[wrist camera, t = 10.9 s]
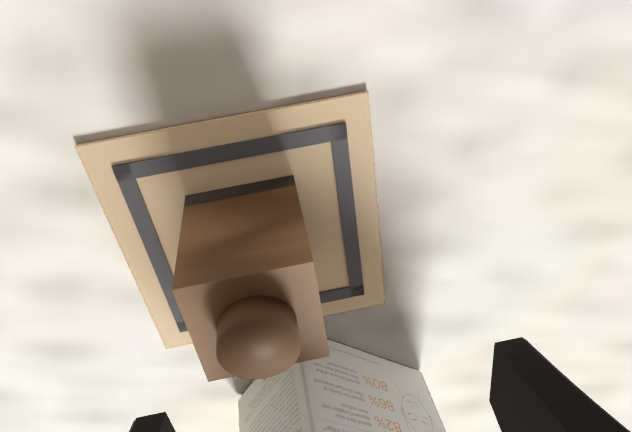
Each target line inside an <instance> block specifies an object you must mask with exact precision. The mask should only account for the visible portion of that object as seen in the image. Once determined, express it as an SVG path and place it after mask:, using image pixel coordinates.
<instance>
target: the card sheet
mask: <svg viewBox="0 0 632 432" xmlns="http://www.w3.org/2000/svg"><path fill="white" fill-rule="evenodd" d="M75 148H76V150H77V153H78V155H79V157H80V159H81V162H82V164H83V166H84V168H85V170H86V173H87V175H88V177H89V179H90V182H91V184H92V186H93V188H94V190H95V193H96V195H97V197H98V199H99V202H100V204H101V206H102V208H103V210H104V213H105V215H106V217H107V219H108V221H109V224H110V226H111V228H112V230H113V233H114V235H115V237H116V239H117V241H118V244H119V246H120V248H121V250H122V253H123V255H124V257H125V259H126V261H127V264H128V266H129V268H130V270H131V273H132V275H133V277H134V279H135V281H136V284H137V286H138V288H139V290H140V293H141V295H142V297H143V299H144V301H145V304H146V306H147V308H148V310H149V313H150V315H151V317H152V319H153V321H154V324H155V326H156V328H157V330H158V332H159V335H160V337H161V339H162V341H163V344H164V346H165V348H166V349H168V348H173V347H178V346H183V345H188V344H192V343H193V342H192V339H191V337H190V334H189V332H188V329H187V327H186V324H185V322H184V319H183V317H182V314H181V312H180V309H179V307H178V304H177V302H176V299H175V297H174V294H173V292H172V285H173V278H174V271H175V264H176V258H177V251H178V244H179V237H180V230H181V223H182V216H183V209H184V202H185V195H190V194H195V193H201V192H206V191H211V190H216V189H222V188H227V187H232V186H237V185H242V184H248V183H253V182H258V181H263V180H269V179H274V178H279V177H284V176H290V175H294V180H295V184H296V188H297V193H298V197H299V201H300V206H301V210H302V214H303V219H304V223H305V227H306V232H307V236H308V240H309V245H310V249H311V253H312V258H313V262H314V268H315V273H316V279H317V284H318V290H319V296H320V301H321V307H322V313H323V316H328V315H333V314H338V313H343V312H347V311H352V310H357V309H362V308H367V307H372V306H377V305H381V304H385V299H384V286H383V273H382V260H381V248H380V235H379V222H378V209H377V196H376V184H375V171H374V158H373V145H372V132H371V120H370V107H369V94H368V91H363V92H358V93H352V94H347V95H341V96H336V97H330V98H325V99H320V100H314V101H309V102H303V103H298V104H293V105H287V106H282V107H276V108H271V109H265V110H260V111H255V112H249V113H244V114H238V115H233V116H228V117H222V118H217V119H211V120H206V121H201V122H195V123H190V124H184V125H179V126H173V127H168V128H163V129H157V130H152V131H146V132H141V133H136V134H130V135H125V136H119V137H114V138H109V139H103V140H98V141H92V142H87V143H81V144H76V146H75Z"/></svg>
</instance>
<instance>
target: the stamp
mask: <svg viewBox="0 0 632 432" xmlns="http://www.w3.org/2000/svg"><path fill="white" fill-rule="evenodd" d="M172 292H173V294H174V297H175V299H176V302H177V304H178V307H179V309H180V312H181V314H182V317H183V319H184V322H185V324H186V327H187V329H188V332H189V334H190V337H191V339H192V342H193V344H194V347H195V349H196V352H197V354H198V357H199V359H200V362H201V364H202V367H203V369H204V372H205V374H206V377H207V379H208V382H209V381H214V380H219V379H224V378H228V377H233V376H237V377H240V378H244V379H264V378H269V377H273V376H276V375H278V374H280V373H282V372H284V371H286V370H287V369H289V368H290V367H291V366H292V365H293V364H295V363H300V362H305V361H309V360H314V359H319V358H324V357H328V356H330V352H329V347H328V341H327V335H326V330H325V324H324V318H323V313H322V307H321V301H320V296H319V290H318V284H317V279H316V273H315V268H314V262H313V258H312V253H311V249H310V245H309V240H308V236H307V232H306V227H305V223H304V219H303V214H302V210H301V206H300V201H299V197H298V193H297V188H296V184H295V180H294V175H290V176H284V177H279V178H274V179H269V180H263V181H258V182H253V183H248V184H242V185H237V186H232V187H227V188H222V189H216V190H211V191H206V192H201V193H195V194H190V195H185V202H184V209H183V216H182V223H181V230H180V237H179V244H178V251H177V258H176V264H175V271H174V278H173V285H172Z"/></svg>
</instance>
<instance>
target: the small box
mask: <svg viewBox="0 0 632 432" xmlns="http://www.w3.org/2000/svg"><path fill="white" fill-rule="evenodd" d="M327 341H328V347H329V352H330V356H328V357H324V358H319V359H314V360H309V361H305V362H300V363H295V364H293V365H292V366H291V367H290V368H289V369H287V370H286V371H284V372H282V373H280V374H278V375H276V376H273V377H269V378H264V379H255V380H254V381H253V382H252V383H251V385H250V386H249V387H248V389H247V390H246V391H245V392H244V394H243V395H242V396H241V397H240V399H239V402H238V406H239V429H240V432H446V431H445V428H444V426H443V423H442V421H441V419H440V416H439V414H438V411H437V409H436V407H435V404H434V402H433V400H432V397H431V395H430V392H429V390H428V388H427V385H426V383H425V380H424V378H423V375H422V373H421V372H420V371H418V370H415V369H412V368H409V367H406V366H403V365H400V364H397V363H394V362H391V361H389V360H386V359H383V358H380V357H377V356H375V355H371V354H369V353H366V352H363V351H360V350H357V349H354V348H352V347H349V346H346V345H343V344H340V343H337V342H334V341H331V340H328V339H327Z"/></svg>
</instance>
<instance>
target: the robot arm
mask: <svg viewBox="0 0 632 432" xmlns="http://www.w3.org/2000/svg"><path fill="white" fill-rule="evenodd" d="M489 401H490V403H491V406H492V409H493V411H494V414H495V416H496V419H497V421H498V424H499V426H500V429H501V431H502V432H630V431H629V430H628V429H626V428H625V427H624V426H623V425H621V424H620V423H619V422H618V421H617V420H616V419H614V418H613V417H612V416H611V415H610V414H608V413H607V412H606V411H605V410H604V409H602V408H601V407H600V406H599V405H598V404H596V403H595V402H594V401H593V400H592V399H591V398H589V397H588V396H587V395H586V394H585V393H584V392H583V391H581V390H580V389H579V388H578V387H577V386H576V385H575V384H574V383H572V382H571V381H570V380H569V379H568V378H567V377H566V376H565V375H563V374H562V373H561V372H560V371H559V370H558V369H557V368H556V367H555V366H554V365H552V364H551V363H550V362H549V361H548V360H547V359H546V358H545V357H544V356H543V355H542V354H541V353H540V352H538V351H537V350H536V349H535V348H534V347H533V346H532V345H531V344H530V343H529V342H528V341H527V340H525V339H524V338H522V337H521V338H516V339H511V340H506V341H502V342H497V343H495V345H494V356H493V367H492V378H491V389H490V400H489ZM129 432H176V431H175V430H174V428H173V426H172V424H171V422H170V420H169V418H168V416H167V414H166V412H163V413H158V414H153V415H148V416H144V417H139V418H136V420H135V421H134V422H133V424H132V426H131V429H130V431H129Z"/></svg>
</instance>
